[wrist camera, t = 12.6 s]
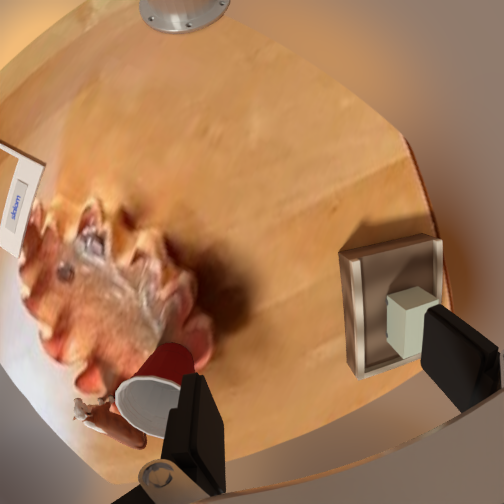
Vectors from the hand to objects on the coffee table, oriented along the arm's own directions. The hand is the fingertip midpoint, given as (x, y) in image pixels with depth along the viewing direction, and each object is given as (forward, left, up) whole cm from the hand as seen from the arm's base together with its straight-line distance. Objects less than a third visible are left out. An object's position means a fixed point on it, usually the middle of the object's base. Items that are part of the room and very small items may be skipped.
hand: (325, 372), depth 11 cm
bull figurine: (+23, -28, -28) cm, 46 cm away
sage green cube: (+13, +17, -24) cm, 32 cm away
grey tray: (+13, +17, -28) cm, 35 cm away
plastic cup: (+15, -15, -28) cm, 35 cm away
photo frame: (-16, -39, -29) cm, 51 cm away
